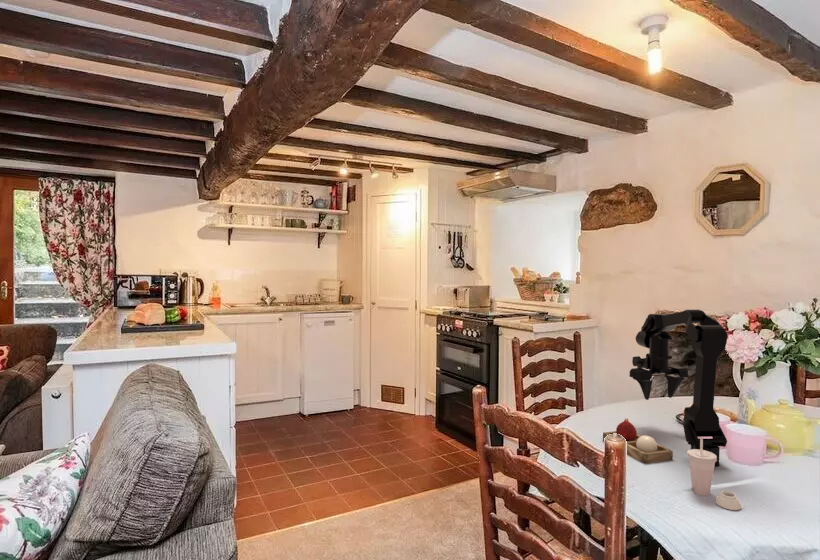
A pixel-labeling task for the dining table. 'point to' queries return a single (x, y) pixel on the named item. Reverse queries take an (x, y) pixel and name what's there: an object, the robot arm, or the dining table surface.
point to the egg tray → (649, 457)
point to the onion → (627, 430)
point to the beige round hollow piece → (728, 500)
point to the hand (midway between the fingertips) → (658, 398)
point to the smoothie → (701, 469)
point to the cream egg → (646, 444)
